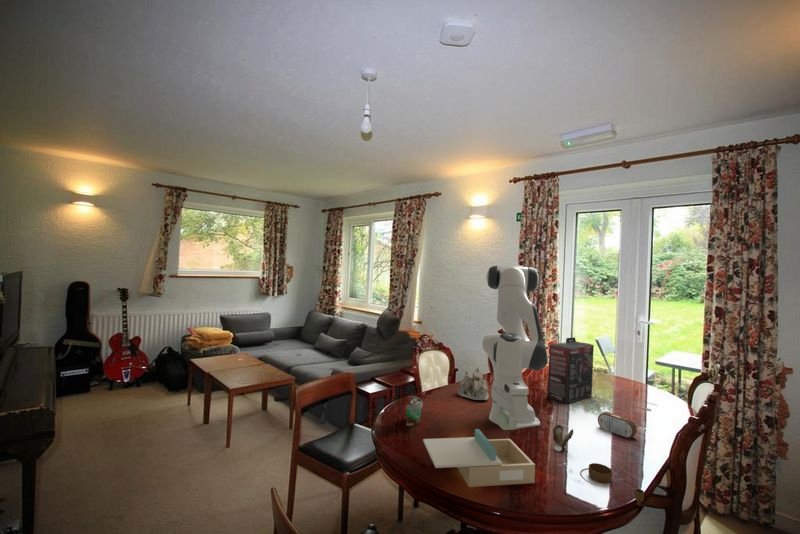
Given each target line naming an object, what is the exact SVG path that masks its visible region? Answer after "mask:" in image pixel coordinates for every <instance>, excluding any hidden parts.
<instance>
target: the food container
mask: <svg viewBox="0 0 800 534" xmlns="http://www.w3.org/2000/svg"><path fill="white" fill-rule="evenodd" d="M423 406H424V404H423V400H422V399H421V398H420V397H418V396H416V395H415V396H414V395H411V396H410V400H409V401H408V404H406V423H405V424H406V425H405V426H406V427H408V428H413V427H417V426H419V425H420V422H421V412H422V408H423Z"/></svg>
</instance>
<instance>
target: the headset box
mask: <svg viewBox="0 0 800 534" xmlns="http://www.w3.org/2000/svg"><path fill="white" fill-rule="evenodd" d="M576 340H577V339H576V336H574V337H573V336H572V337H566V338H565V342H559V343H558V342H557V343H549V354H548V376H547V393H546V394H547V398H548V399H552V400H555V401H558V402H559V403H563V404H566V405H567V404H571V403H576V402H579V401H582V400H583V401H584V400H586V399H590V398H592V396H593V393H592V391H593V372H594V369H593V368H594V351H595V350H594V346H595V345H594V344H591V343H587V342H579V341H576Z"/></svg>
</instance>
